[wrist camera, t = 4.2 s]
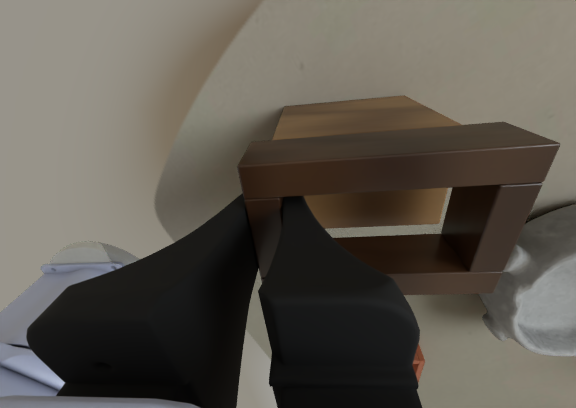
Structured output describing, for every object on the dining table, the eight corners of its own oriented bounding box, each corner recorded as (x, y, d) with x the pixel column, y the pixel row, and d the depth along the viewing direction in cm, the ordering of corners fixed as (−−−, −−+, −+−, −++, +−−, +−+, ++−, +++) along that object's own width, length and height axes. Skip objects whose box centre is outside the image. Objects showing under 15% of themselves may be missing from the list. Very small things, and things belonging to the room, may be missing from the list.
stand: (290, 172, 20) (283, 230, 14) (283, 106, 18) (270, 140, 11) (396, 166, 20) (439, 224, 13) (405, 95, 17) (464, 124, 11)
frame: (271, 258, 13) (264, 298, 11) (250, 141, 10) (236, 165, 8) (462, 252, 12) (494, 294, 10) (504, 121, 9) (563, 142, 7)
